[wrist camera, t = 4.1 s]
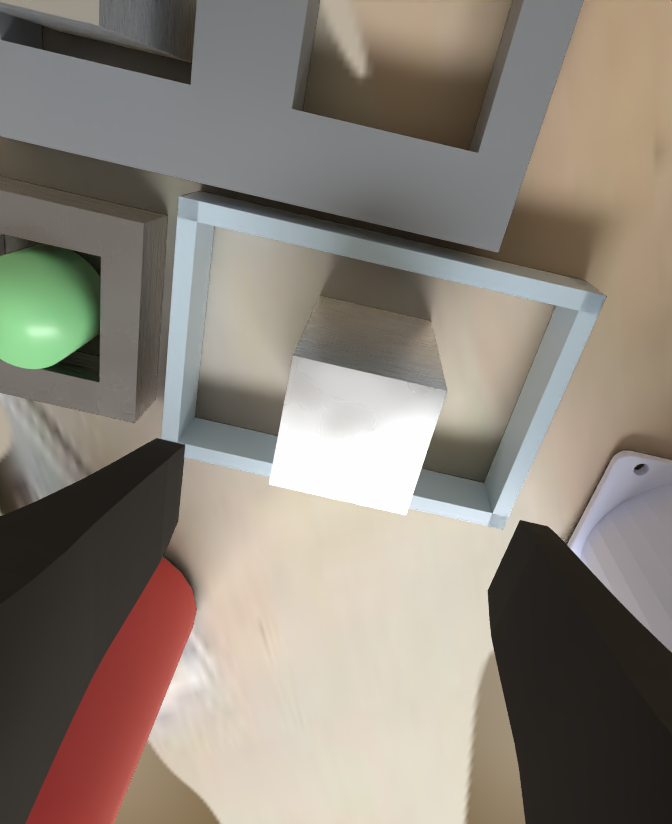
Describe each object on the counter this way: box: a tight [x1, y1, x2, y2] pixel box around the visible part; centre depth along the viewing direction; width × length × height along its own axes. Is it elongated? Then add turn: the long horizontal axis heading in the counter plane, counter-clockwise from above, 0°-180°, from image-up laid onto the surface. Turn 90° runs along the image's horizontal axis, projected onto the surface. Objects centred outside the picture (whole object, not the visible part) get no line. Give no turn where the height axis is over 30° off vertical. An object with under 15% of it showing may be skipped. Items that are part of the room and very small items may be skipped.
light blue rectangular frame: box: [161, 191, 607, 529], centre depth 19 cm, size 13×9×2 cm
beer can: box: [26, 557, 197, 824], centre depth 21 cm, size 7×7×12 cm
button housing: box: [0, 177, 168, 423], centre depth 19 cm, size 7×7×2 cm
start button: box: [0, 244, 101, 369], centre depth 18 cm, size 4×4×2 cm
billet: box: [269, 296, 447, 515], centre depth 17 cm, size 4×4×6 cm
